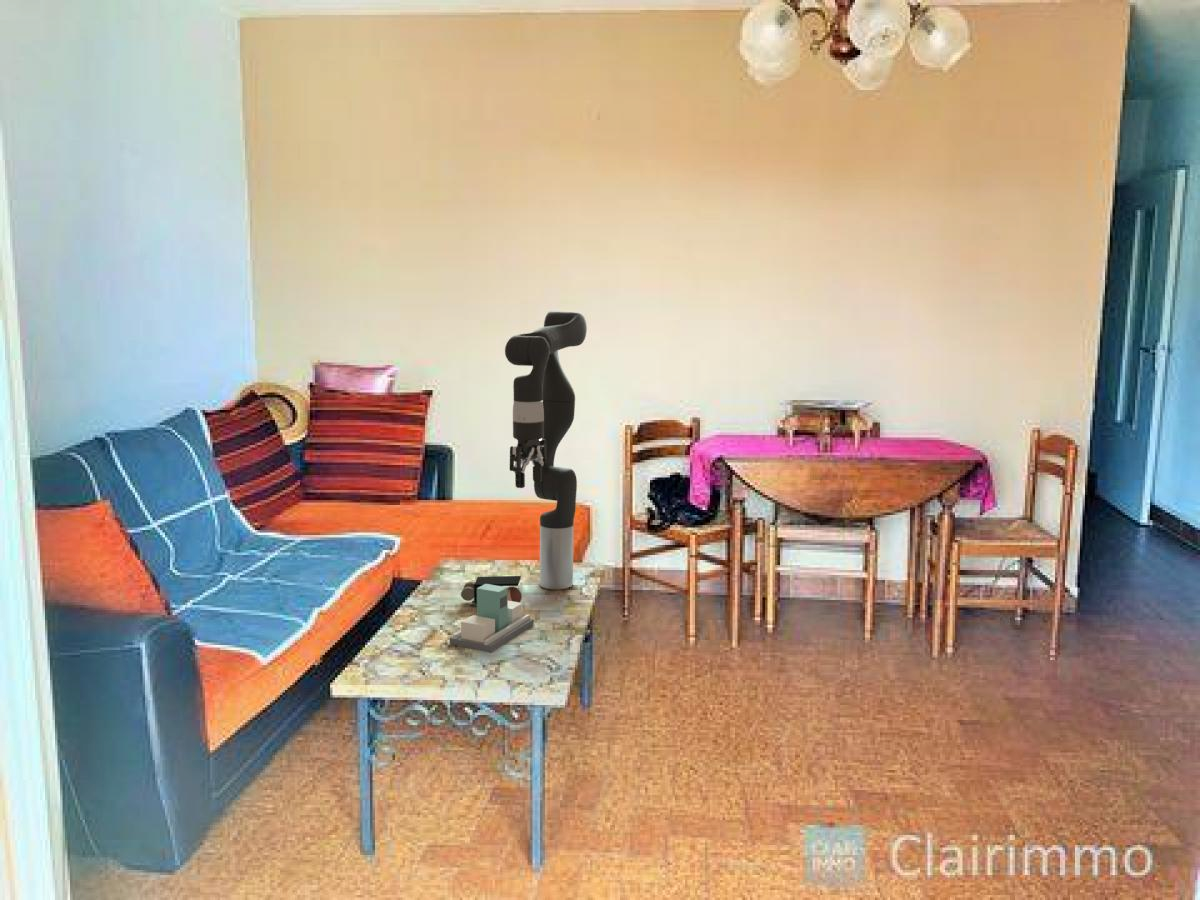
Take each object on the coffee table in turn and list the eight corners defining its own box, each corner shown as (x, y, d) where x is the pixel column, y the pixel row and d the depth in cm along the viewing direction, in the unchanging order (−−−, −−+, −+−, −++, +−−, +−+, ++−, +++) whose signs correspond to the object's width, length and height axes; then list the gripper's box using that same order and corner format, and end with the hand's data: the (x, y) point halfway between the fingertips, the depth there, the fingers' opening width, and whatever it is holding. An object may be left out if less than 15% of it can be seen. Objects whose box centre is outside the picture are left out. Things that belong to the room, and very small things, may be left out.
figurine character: (462, 614, 244) (521, 609, 243) (458, 585, 243) (517, 580, 242) (466, 605, 250) (523, 600, 250) (463, 577, 249) (520, 572, 249)
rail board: (494, 618, 237) (494, 608, 236) (533, 625, 232) (533, 615, 232) (449, 644, 219) (449, 633, 219) (490, 652, 214) (490, 641, 214)
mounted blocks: (501, 614, 235) (501, 599, 234) (522, 618, 232) (522, 603, 232) (461, 638, 219) (461, 621, 218) (483, 642, 216) (483, 625, 215)
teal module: (485, 623, 228) (485, 583, 227) (508, 627, 226) (508, 587, 224) (477, 629, 225) (476, 588, 223) (499, 633, 222) (499, 592, 221)
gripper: (527, 424, 223) (527, 491, 226) (555, 416, 235) (556, 480, 238) (499, 421, 226) (500, 488, 229) (529, 414, 238) (529, 477, 241)
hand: (528, 484), depth 233 cm, fingers open, 8 cm apart
